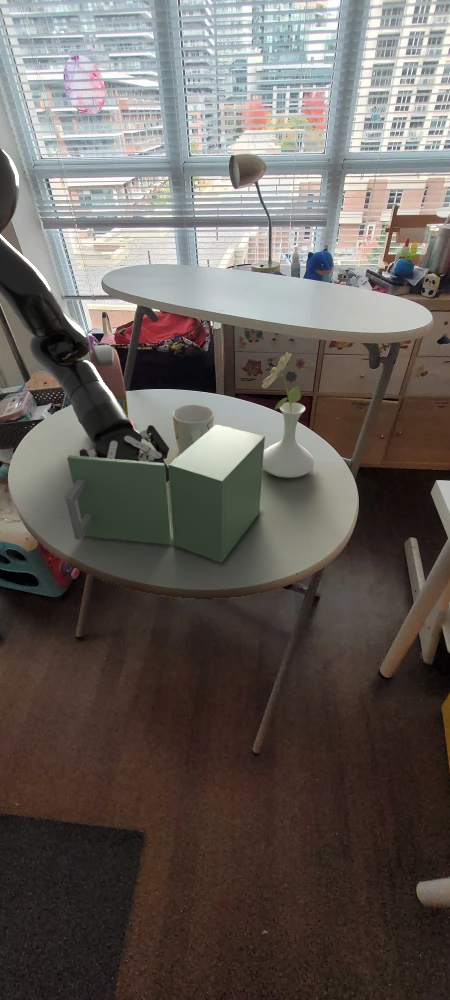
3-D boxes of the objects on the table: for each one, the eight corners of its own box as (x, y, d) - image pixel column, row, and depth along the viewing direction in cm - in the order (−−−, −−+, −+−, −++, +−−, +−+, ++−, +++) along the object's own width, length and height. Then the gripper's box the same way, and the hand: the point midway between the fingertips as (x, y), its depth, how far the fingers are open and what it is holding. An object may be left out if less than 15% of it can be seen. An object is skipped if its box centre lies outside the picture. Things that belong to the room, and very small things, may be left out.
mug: (218, 471, 94) (218, 428, 88) (177, 474, 93) (175, 431, 87) (211, 444, 103) (210, 403, 97) (173, 447, 102) (171, 405, 96)
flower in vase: (285, 448, 102) (297, 335, 87) (324, 470, 95) (344, 351, 80) (241, 468, 95) (246, 349, 80) (280, 493, 88) (293, 368, 73)
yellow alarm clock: (92, 424, 110) (76, 333, 98) (131, 420, 113) (120, 330, 100) (99, 471, 94) (81, 369, 81) (144, 465, 96) (133, 365, 83)
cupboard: (173, 545, 76) (167, 464, 67) (216, 499, 87) (216, 424, 77) (221, 563, 73) (222, 481, 63) (259, 513, 83) (265, 436, 74)
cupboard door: (162, 566, 72) (154, 485, 62) (72, 556, 73) (52, 476, 64) (171, 541, 76) (164, 462, 67) (86, 533, 78) (69, 454, 69)
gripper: (60, 414, 73) (106, 496, 69) (139, 389, 79) (186, 463, 75) (62, 439, 80) (104, 516, 76) (135, 414, 86) (178, 484, 82)
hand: (145, 489), depth 75 cm, fingers open, 8 cm apart
